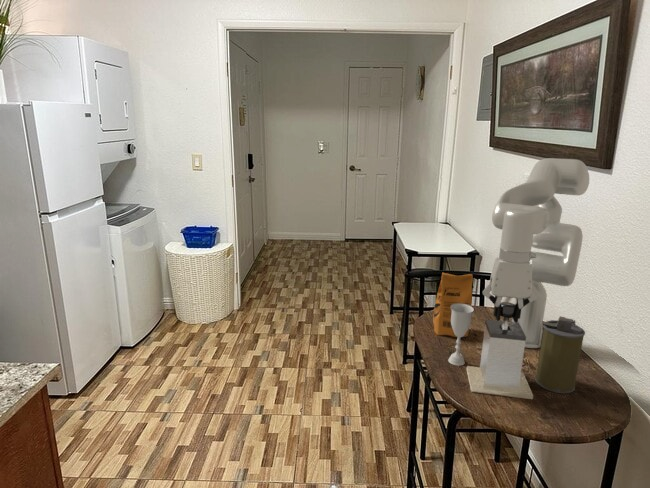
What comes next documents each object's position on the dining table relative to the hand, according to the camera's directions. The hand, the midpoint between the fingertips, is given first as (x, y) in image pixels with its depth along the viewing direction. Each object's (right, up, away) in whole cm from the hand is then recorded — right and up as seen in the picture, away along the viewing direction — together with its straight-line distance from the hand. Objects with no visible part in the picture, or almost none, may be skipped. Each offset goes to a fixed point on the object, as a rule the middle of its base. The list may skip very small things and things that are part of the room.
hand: (506, 319), depth 121 cm
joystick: (0, -19, +5) cm, 20 cm away
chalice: (-9, -16, +17) cm, 25 cm away
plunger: (0, -17, +4) cm, 17 cm away
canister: (+16, -20, +6) cm, 26 cm away
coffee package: (-5, -11, +38) cm, 39 cm away
